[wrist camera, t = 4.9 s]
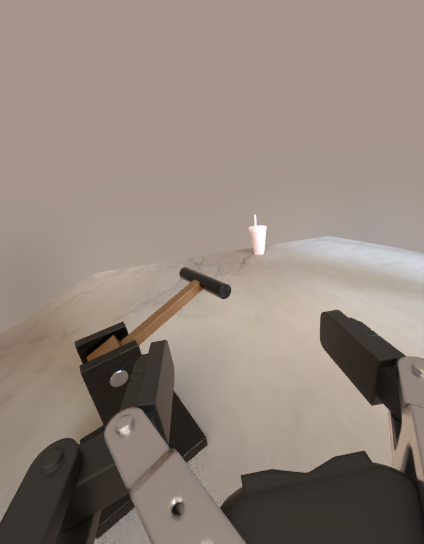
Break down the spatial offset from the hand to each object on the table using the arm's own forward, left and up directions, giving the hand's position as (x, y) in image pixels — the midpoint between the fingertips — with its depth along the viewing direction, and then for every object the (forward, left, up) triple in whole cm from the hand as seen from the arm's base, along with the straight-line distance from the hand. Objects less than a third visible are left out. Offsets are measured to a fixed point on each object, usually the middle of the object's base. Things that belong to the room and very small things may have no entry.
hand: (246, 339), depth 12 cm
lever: (0, +12, -5) cm, 13 cm away
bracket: (-6, +12, -18) cm, 22 cm away
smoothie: (+51, +49, -18) cm, 73 cm away
